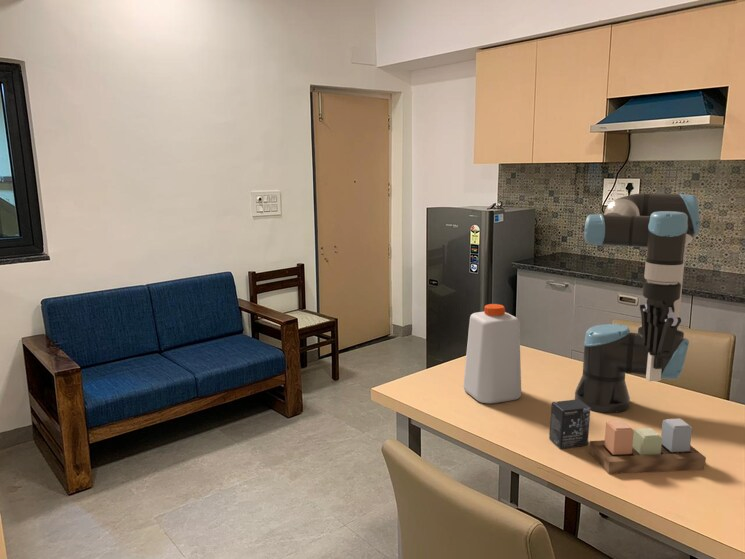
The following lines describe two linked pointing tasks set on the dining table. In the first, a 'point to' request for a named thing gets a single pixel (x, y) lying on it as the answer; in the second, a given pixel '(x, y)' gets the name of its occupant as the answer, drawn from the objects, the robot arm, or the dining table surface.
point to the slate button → (676, 435)
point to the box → (569, 423)
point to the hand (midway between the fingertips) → (653, 379)
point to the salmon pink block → (618, 437)
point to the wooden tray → (646, 460)
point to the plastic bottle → (493, 356)
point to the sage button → (647, 441)
